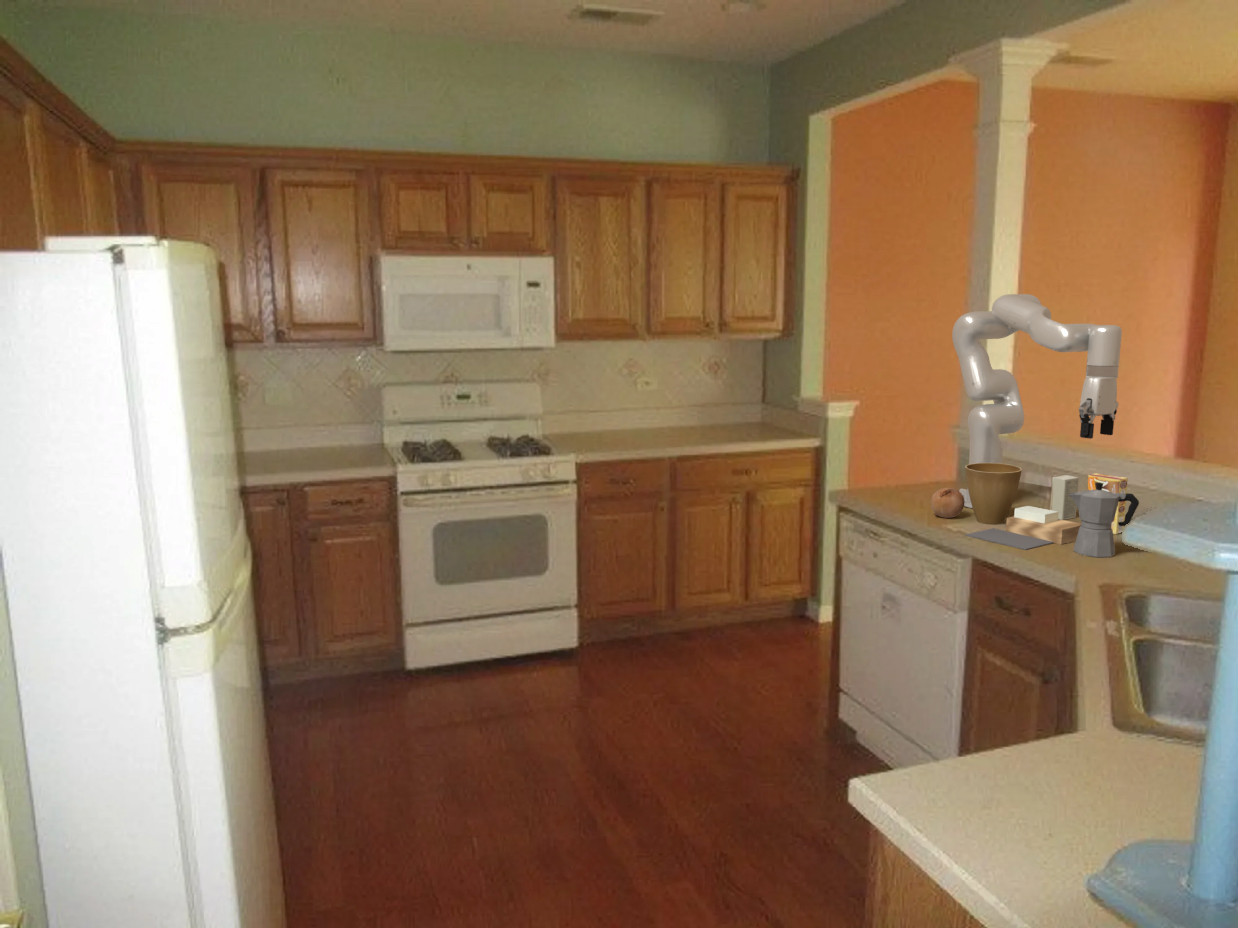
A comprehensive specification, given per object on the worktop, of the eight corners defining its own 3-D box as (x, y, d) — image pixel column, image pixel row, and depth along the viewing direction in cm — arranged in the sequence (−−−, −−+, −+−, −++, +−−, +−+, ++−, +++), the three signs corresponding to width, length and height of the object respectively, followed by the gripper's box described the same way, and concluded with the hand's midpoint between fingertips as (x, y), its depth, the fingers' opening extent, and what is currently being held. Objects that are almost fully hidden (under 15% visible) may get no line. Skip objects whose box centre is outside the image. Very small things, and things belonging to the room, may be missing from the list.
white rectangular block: (1014, 517, 243) (1014, 508, 243) (1027, 514, 246) (1028, 505, 246) (1044, 523, 236) (1045, 514, 235) (1057, 520, 239) (1058, 511, 238)
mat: (965, 535, 240) (965, 534, 240) (993, 529, 246) (993, 528, 246) (1025, 550, 225) (1025, 548, 225) (1053, 542, 231) (1053, 541, 231)
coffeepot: (1066, 555, 219) (1072, 484, 216) (1062, 546, 228) (1067, 477, 225) (1137, 561, 214) (1144, 488, 211) (1130, 551, 223) (1136, 480, 220)
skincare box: (1063, 515, 262) (1066, 474, 259) (1076, 518, 258) (1079, 477, 256) (1048, 517, 259) (1051, 476, 257) (1062, 520, 255) (1065, 479, 253)
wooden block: (1006, 532, 243) (1006, 517, 242) (1028, 527, 248) (1029, 513, 247) (1061, 544, 229) (1062, 529, 229) (1083, 538, 235) (1084, 524, 234)
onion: (948, 529, 258) (949, 503, 253) (923, 515, 265) (923, 489, 260) (971, 515, 262) (972, 488, 256) (945, 501, 269) (946, 475, 263)
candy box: (1124, 532, 241) (1128, 477, 238) (1115, 535, 238) (1120, 479, 236) (1091, 526, 248) (1096, 472, 245) (1083, 528, 246) (1087, 474, 243)
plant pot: (957, 515, 263) (960, 462, 261) (1010, 516, 261) (1014, 463, 258) (968, 527, 249) (971, 471, 246) (1024, 528, 246) (1028, 472, 244)
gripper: (1105, 369, 241) (1099, 431, 245) (1069, 373, 232) (1064, 437, 235) (1133, 371, 235) (1127, 435, 238) (1098, 375, 226) (1092, 441, 229)
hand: (1096, 436), depth 237 cm, fingers open, 9 cm apart
